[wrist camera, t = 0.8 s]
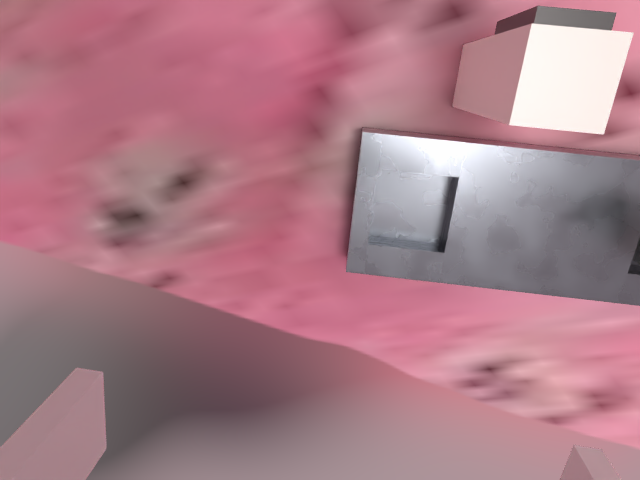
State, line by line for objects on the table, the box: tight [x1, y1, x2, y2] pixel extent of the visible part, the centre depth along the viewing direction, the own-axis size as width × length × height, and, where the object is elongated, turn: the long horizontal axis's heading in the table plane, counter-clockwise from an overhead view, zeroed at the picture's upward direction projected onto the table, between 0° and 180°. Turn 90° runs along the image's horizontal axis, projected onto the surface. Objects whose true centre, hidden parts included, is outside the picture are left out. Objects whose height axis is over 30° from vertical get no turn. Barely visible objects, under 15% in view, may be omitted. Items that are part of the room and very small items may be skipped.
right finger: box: [452, 6, 633, 134], centre depth 25 cm, size 5×4×13 cm
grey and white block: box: [346, 127, 640, 306], centre depth 28 cm, size 10×26×14 cm, turn 85°
